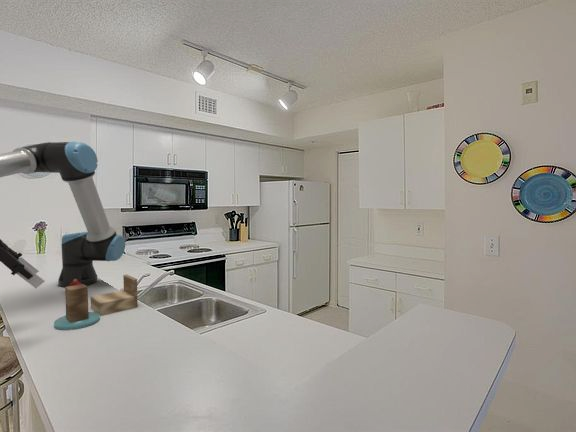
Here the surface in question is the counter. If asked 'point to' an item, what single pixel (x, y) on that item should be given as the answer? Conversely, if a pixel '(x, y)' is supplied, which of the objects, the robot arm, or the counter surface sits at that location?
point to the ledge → (117, 298)
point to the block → (76, 303)
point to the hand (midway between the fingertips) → (37, 279)
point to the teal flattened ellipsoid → (66, 325)
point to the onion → (74, 283)
